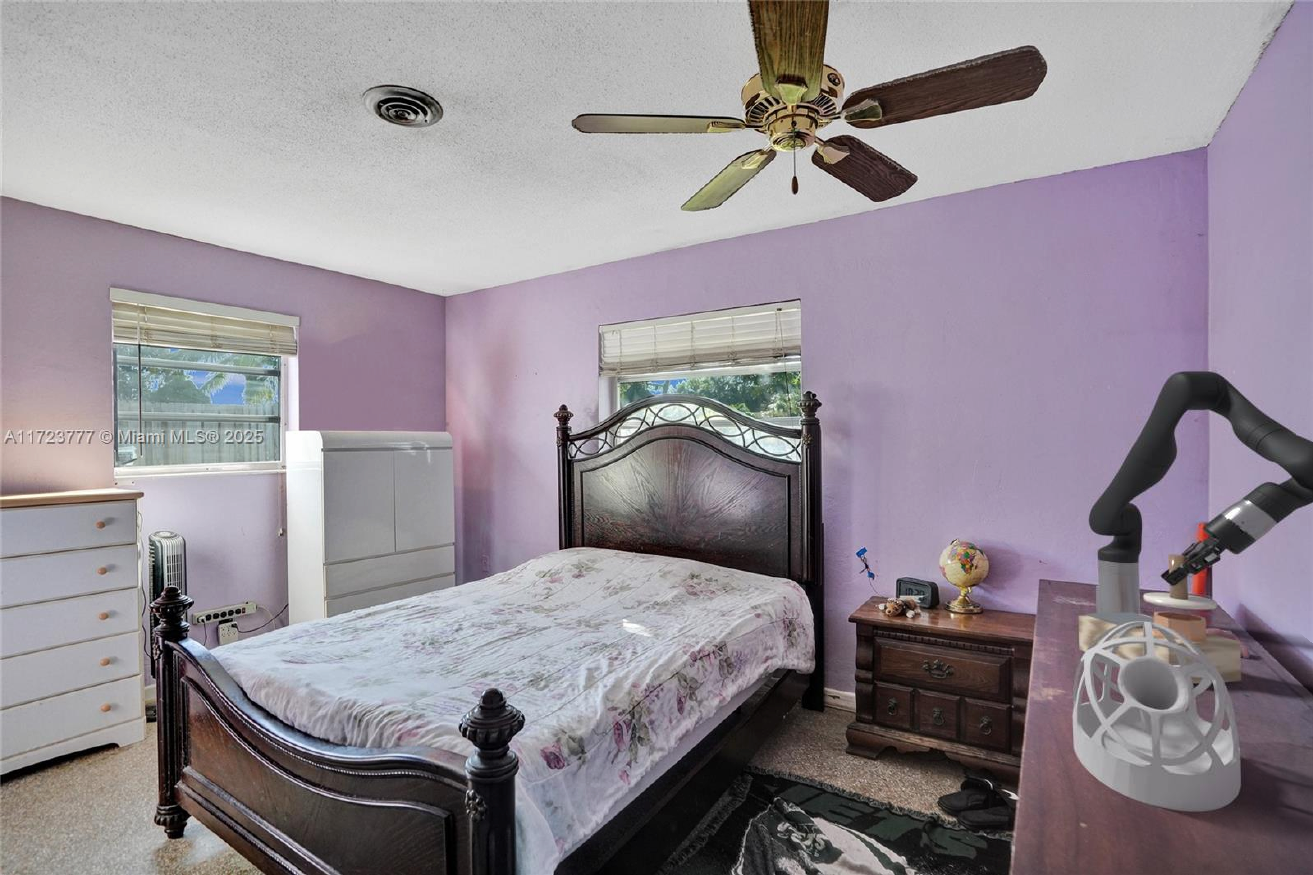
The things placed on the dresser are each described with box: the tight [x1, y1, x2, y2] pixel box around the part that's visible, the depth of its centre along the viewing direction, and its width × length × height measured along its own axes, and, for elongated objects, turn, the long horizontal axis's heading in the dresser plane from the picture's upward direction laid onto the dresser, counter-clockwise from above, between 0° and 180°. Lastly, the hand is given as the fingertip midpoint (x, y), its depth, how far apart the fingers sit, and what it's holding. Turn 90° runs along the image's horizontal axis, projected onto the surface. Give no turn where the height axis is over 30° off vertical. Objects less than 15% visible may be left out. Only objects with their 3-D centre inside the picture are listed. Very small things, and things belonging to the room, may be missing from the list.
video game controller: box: [1206, 627, 1250, 659], centre depth 150 cm, size 10×5×7 cm, turn 85°
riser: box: [1078, 613, 1242, 684], centre depth 143 cm, size 24×16×8 cm, turn 6°
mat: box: [1085, 612, 1154, 628], centre depth 149 cm, size 12×12×1 cm
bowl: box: [1153, 611, 1207, 641], centre depth 136 cm, size 8×8×4 cm
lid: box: [1143, 553, 1218, 611], centre depth 137 cm, size 12×12×10 cm
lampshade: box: [1072, 621, 1242, 812], centre depth 95 cm, size 20×26×20 cm
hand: (1166, 581), depth 138 cm, fingers closed on lid, 3 cm apart
